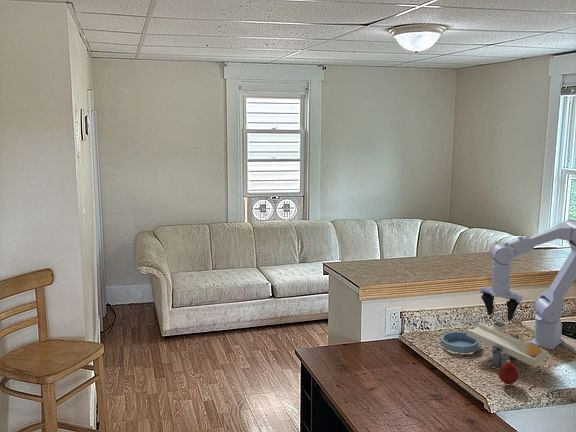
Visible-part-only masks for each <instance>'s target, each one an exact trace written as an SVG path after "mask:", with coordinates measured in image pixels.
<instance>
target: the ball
mask: <svg viewBox="0 0 576 432" xmlns="http://www.w3.org/2000/svg"><path fill="white" fill-rule="evenodd" d="M529 344H530V345H529V346H528V347H527V352H528V354H529V355H530V356H533V357H536V356H537V355H539V354H540V353H541V349H542V348H541V346H538V345H537V344H531V343H529Z"/></svg>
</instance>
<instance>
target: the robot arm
mask: <svg viewBox="0 0 576 432" xmlns="http://www.w3.org/2000/svg"><path fill="white" fill-rule="evenodd" d="M555 240H561V241H562V240H563V241H566V242H567V241H568V245H569V247H570V250H571V251H570V253H568V254H569V255H568V256H567V257H566V260H564V263H563V264H562V266H561V268H560V269H559V271H558V272H557V274H556V275H555V278H554V280H553V281H552V283H551V284H550V286H549V288H548V289H547V290H544V291H542V293H541V294H540V295H539V296H537V298H535V299H534V301H533V302H532V307H533V310H534V311H535V316H534V317H535V318H534V319H535V322H534V338H533V339H531V340H530V341H529V344H537V345H538V346H539V347H542V348H545V349H548V350H553V349H555V348H556V347H558V346H559V345H560V344H562V343H563V342H564V341H565V340H564V338H562V334H563V333H562V331H563V330H562V329H563V327H562V326H563V324H562V323H563V322H562V320H561V317H562V315H563V313H562V312H563V310H564V308H565V301H564V299H565V296H566V295H567V293H568V291H569V290H570V289H571V287H572V285H573V283H574V282H575V280H576V220H575V219H567V220H565V221H561V222H559V223H557V224H556V225H554V226H552V227H550V228H548V229H545V230H543V231H541V232H539V233H537V234H534V235H532V236H530V237H529V236H527V235H523V236H522V235H518V236H517V237H516V238H515V239H513V240H510V241H504V242H503V244H502V243H498V244H495V245H494V246H493V247H492V248H491V250H490V251H489V254H490V257H491V258H492V266H491V268H492V270H491V287H488V286H481V287H480V288H479V294H482V295H481V300H482V301H483V302H484V303H483V304H484V305H485V309H486V312H487V315H489V316H491V315H493V314H494V300H495V298H502V299H507V300H508V301H506V302H505V303H506V306H507V307H506V309H507V321H512V320H513V319H514V315H515V311H516V310H517V307H518V306H519V304H520V303H521V302H523V295H521V294H517V293H515V292H513V291H511V290H510V289H511V288H510V285H511V262H512V261H513V260H514V259H516V258H518V257H519V258H520V257H521V256H523V255H526V254H529V253H531V252H533V250H534V248H535V247H537V246H539V245H543V244H546V243H549V242H552V241H555Z"/></svg>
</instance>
